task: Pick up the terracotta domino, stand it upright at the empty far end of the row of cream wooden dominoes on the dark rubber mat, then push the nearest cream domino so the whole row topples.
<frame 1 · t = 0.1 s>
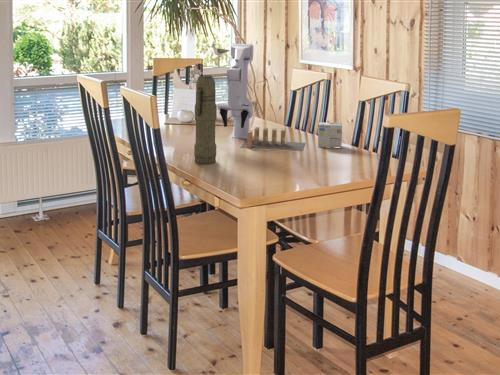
hand: (233, 127, 339), 10 cm above the table, tool pointing down, fingers open, 7 cm apart
domino 2: (265, 143, 353), resting on rubber mat
domino 1: (256, 143, 354), resting on rubber mat
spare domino: (249, 146, 346), resting on rubber mat
domino 4: (282, 144, 352), resting on rubber mat
rubber mat: (273, 145, 351), on the table
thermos: (205, 162, 319), on the table
light bulb box: (329, 147, 352), on the table
domino 3: (274, 144, 353), resting on rubber mat
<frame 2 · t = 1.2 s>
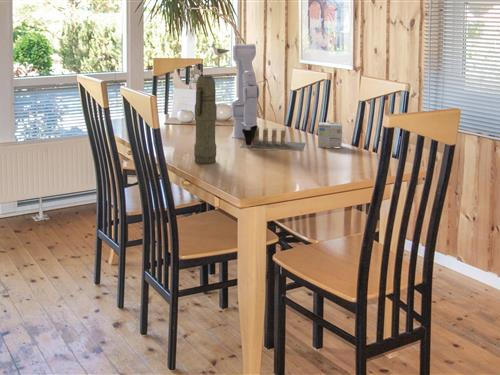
hand: (249, 143, 346), 2 cm above the table, tool pointing down, fingers open, 7 cm apart
domino 1: (256, 143, 354), resting on rubber mat, touching gripper
everything else where it was.
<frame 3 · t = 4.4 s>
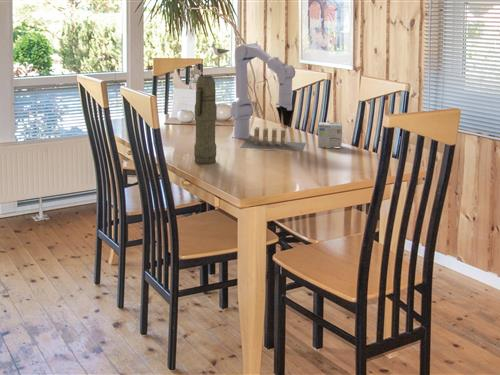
hand: (284, 123, 347), 10 cm above the table, tool pointing down, fingers closed on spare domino, 5 cm apart
domino 1: (256, 143, 354), resting on rubber mat
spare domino: (284, 127, 347), point 9 cm above the table, touching gripper
everything else where it was.
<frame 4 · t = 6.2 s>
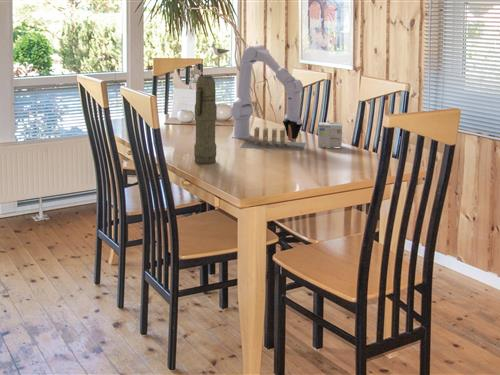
hand: (291, 137, 351), 4 cm above the table, tool pointing down, fingers closed on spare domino, 5 cm apart
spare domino: (291, 140, 351), point 2 cm above the table, touching gripper
domino 4: (282, 144, 352), resting on rubber mat, touching gripper
everything else where it was.
when the fingers open (3 cm above the table, at t = 7.1 s): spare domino stays where it is, resting on rubber mat.
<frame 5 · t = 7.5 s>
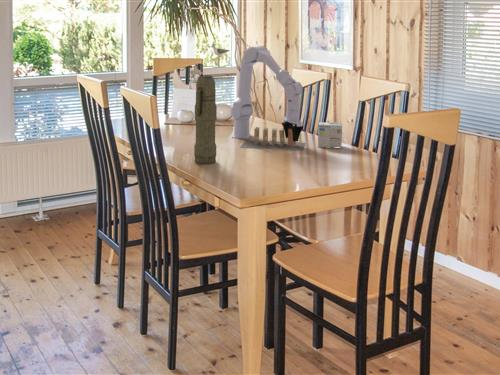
hand: (291, 139, 351), 3 cm above the table, tool pointing down, fingers open, 7 cm apart
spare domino: (291, 145, 352), resting on rubber mat
everything else where it was.
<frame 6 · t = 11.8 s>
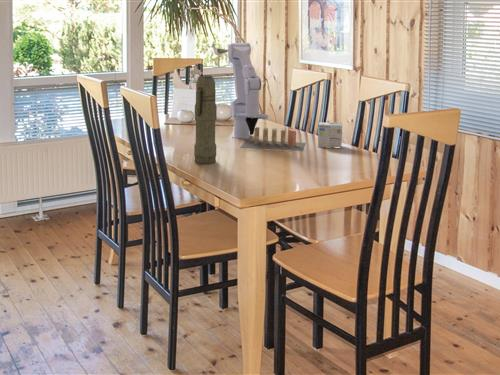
hand: (251, 134, 353), 4 cm above the table, tool pointing down, fingers closed
domino 1: (256, 143, 354), resting on rubber mat, touching gripper
domino 4: (282, 144, 352), resting on rubber mat
everything else where it was.
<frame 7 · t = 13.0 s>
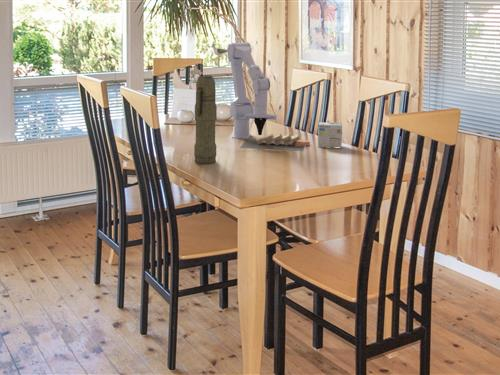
hand: (260, 134, 352), 4 cm above the table, tool pointing down, fingers closed
domino 2: (267, 142, 353), point 1 cm above the table, tilted 63°, touching domino 1, domino 3, rubber mat
domino 1: (258, 141, 353), point 1 cm above the table, tilted 65°, touching domino 2, rubber mat
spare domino: (293, 143, 352), point 1 cm above the table, tilted 90°, touching domino 4, rubber mat
domino 4: (284, 142, 352), point 1 cm above the table, tilted 63°, touching domino 3, rubber mat, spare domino
domino 3: (275, 142, 352), point 1 cm above the table, tilted 63°, touching domino 2, domino 4, rubber mat
everything else where it was.
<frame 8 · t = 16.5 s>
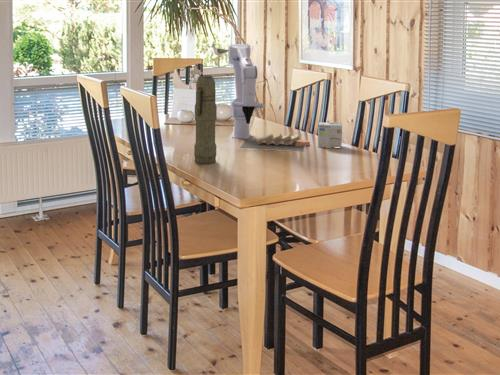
hand: (248, 123, 352), 9 cm above the table, tool pointing down, fingers closed
nothing on the table moved.
at the end: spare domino tilted 90°; domino 4 tilted 63°; the gripper is holding nothing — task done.
